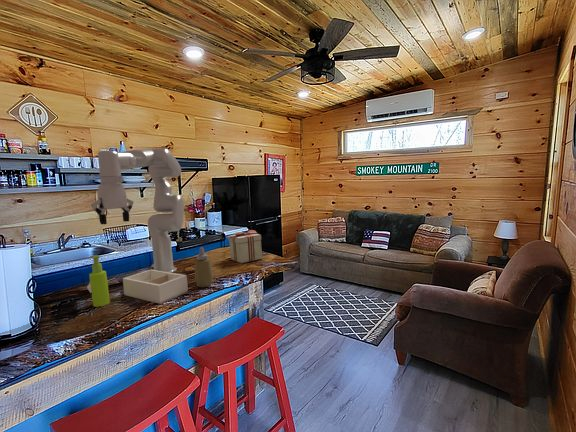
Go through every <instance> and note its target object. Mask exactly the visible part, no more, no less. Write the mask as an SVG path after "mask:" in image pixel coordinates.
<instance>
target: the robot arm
mask: <svg viewBox="0 0 576 432" xmlns="http://www.w3.org/2000/svg"><path fill="white" fill-rule="evenodd" d="M97 159H98V160H97V161H98V170H99V179H100V184H99V185H98V188H97V200H96V201H94V202H92V203H91V204H90V206H91V208H92V209H93V211H94V212H95V213H96V214H97V215H98V219H99V223H100V225H107V224H108V222H107V214H105V213H106V212H107V210H115V209H118V210H119V209H121V210H122V211H123V212H122V221H123V222H129V221H130V212H131V209H132V208H133V206H134V200H131V199H130V198H127V193H126V189H125V186H124V184H123V182H124V181H125V179H124V178H122V173H121V171H126V170H127V171H128V170H132V169H139V168H145V167H148V173H149V175H150V177H151V180H152V181H153V184H154V196H153V207H152V208H153V209H154V211H155V212H157V213H156V214H151V215H150V217H148V219H147V227H148V229H149V233H150V237H151V238H150V239H151V247H152V256H153V257H152V259H153V264H151V268H153V270H157V271H163V272H169V273H175V272H176V271H177V269H178V268H177V267H176V266H174V259H173V257H174V256H173V251H172V250H173V249H172V240H171V237H170V234H168V232H179V231H181V229H182V228H183V223H184V222H183V221H184V213H185V212H184V211H185V201H184V198H183V197H182V195H180V194H172V193H173V188H172V185H171V184H170V183H169V181H168V180H167V179H172V178H178V177H179V176H180V175H181V174H182V167H181V165H180V163H179V161H178V160H177V159H176V157H175V155H173V153H172V152H171V151H170V149H168V148H167V147H157V148H155V147H154V148H141V149H132V150H131V149H130V150H125V151H116V150H110V149H109V150H100V151H98V152H97Z"/></svg>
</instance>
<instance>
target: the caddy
mask: <svg viewBox="0 0 576 432" xmlns="http://www.w3.org/2000/svg"><path fill="white" fill-rule="evenodd" d="M187 276H188V275H186V274H183V273H175V272H172V273H169V272H163V271H157V270H154V269H148V270H145V271H142V272H139V273H135V274H132V275H128V276H126V277H123V278H122V285H123V293H124V296H127V297H132V298H136V299H140V300H143V301H147V302H150V303H151V302H152V303H156V304H160V305H161V304H163V303H166V302H168V301H171V300H172V299H173V300H174V299H175V298H177V297H180V296H182V295H184V294H186V293H188V292H189V288H188V277H187Z"/></svg>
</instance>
